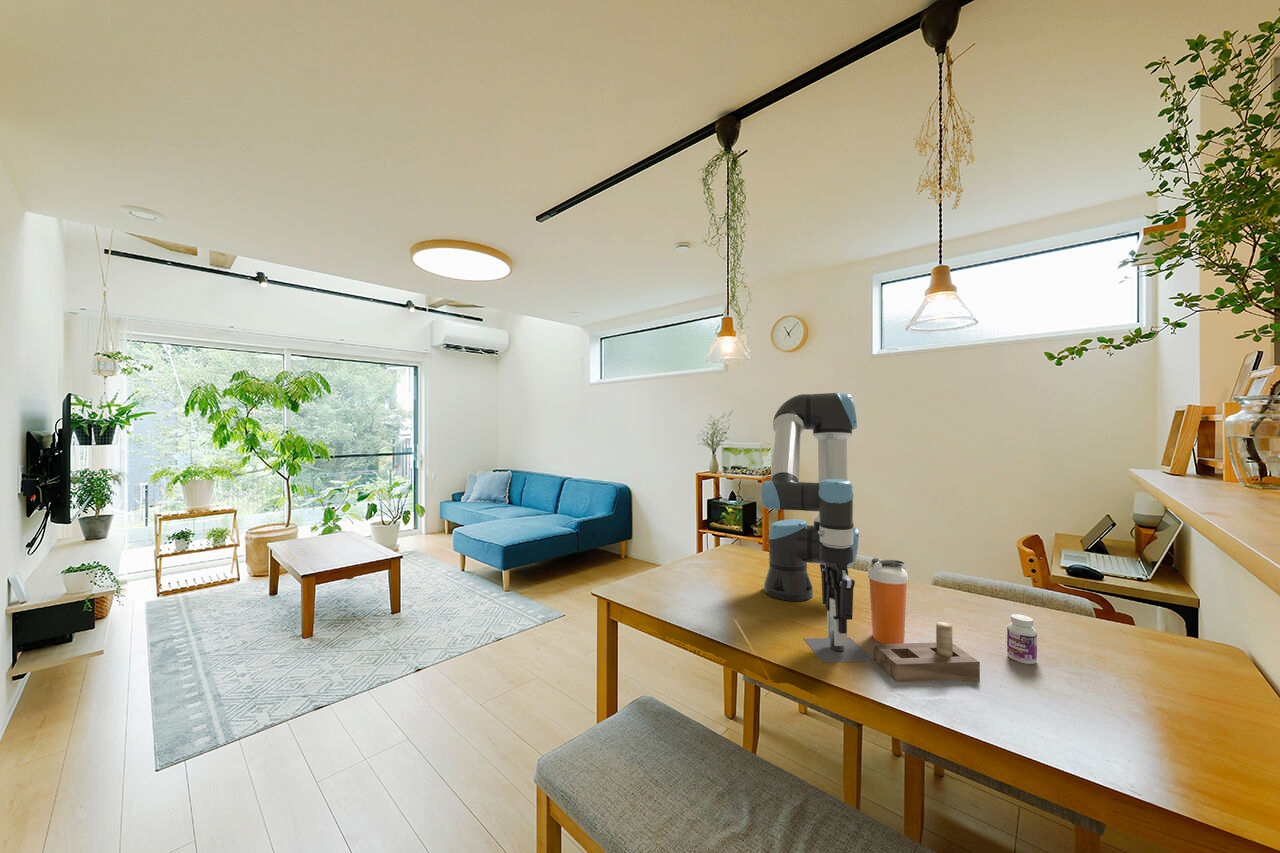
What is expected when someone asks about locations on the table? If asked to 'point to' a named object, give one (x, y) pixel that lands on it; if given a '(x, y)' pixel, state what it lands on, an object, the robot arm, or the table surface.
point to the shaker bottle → (888, 600)
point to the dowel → (944, 639)
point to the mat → (830, 656)
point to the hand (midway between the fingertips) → (837, 641)
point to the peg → (833, 613)
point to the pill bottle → (1022, 639)
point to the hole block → (925, 663)
